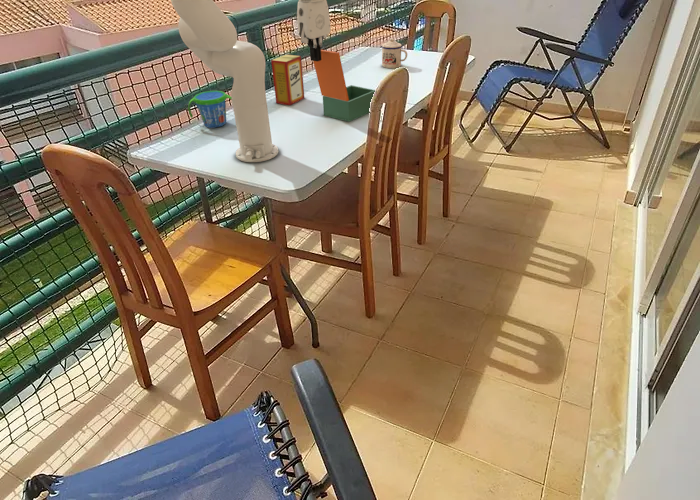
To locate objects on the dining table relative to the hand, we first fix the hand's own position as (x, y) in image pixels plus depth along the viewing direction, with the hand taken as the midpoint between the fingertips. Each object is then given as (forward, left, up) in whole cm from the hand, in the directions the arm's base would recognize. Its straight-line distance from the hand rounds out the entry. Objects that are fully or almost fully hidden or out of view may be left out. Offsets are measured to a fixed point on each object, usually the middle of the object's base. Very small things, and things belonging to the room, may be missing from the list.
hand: (316, 60), depth 154 cm
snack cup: (+6, +36, -21) cm, 43 cm away
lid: (+5, -4, -6) cm, 9 cm away
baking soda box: (+29, +11, -21) cm, 37 cm away
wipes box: (+12, -11, -21) cm, 26 cm away
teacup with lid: (+72, -35, -21) cm, 82 cm away
